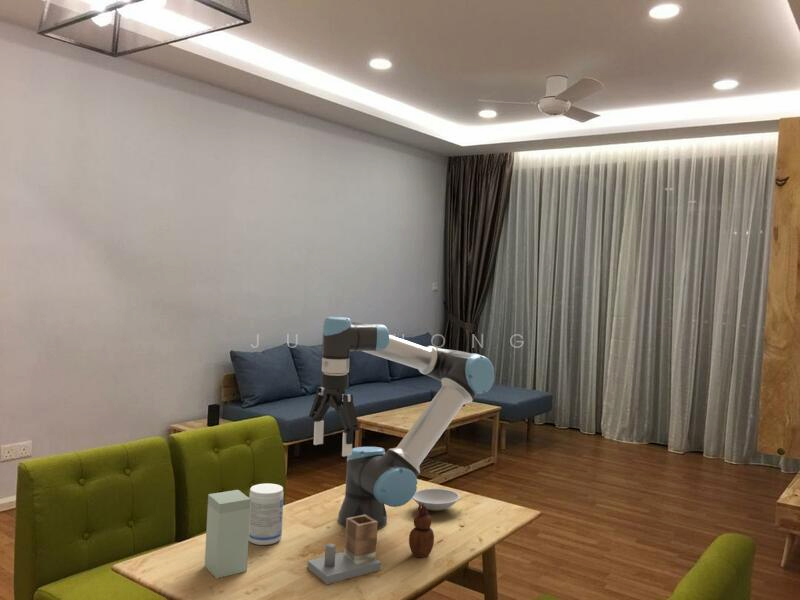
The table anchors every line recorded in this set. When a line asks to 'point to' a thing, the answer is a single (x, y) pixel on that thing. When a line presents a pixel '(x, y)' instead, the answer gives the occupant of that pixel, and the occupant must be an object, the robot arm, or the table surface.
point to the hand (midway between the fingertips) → (332, 449)
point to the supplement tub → (265, 513)
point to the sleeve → (360, 539)
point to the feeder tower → (227, 533)
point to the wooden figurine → (421, 534)
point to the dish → (436, 498)
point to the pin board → (339, 566)
